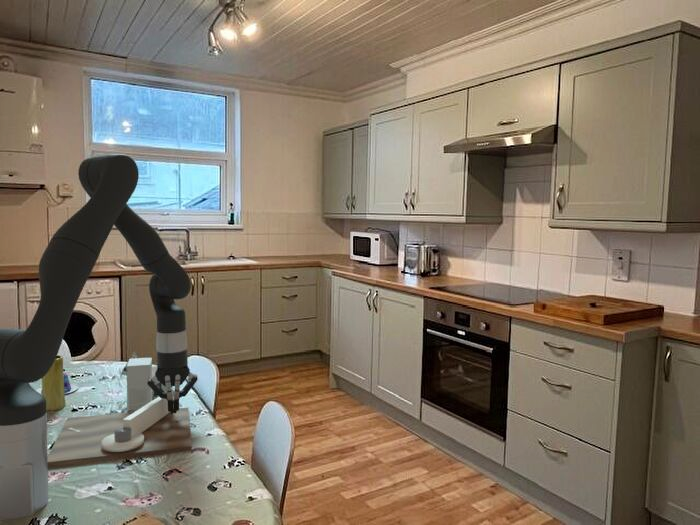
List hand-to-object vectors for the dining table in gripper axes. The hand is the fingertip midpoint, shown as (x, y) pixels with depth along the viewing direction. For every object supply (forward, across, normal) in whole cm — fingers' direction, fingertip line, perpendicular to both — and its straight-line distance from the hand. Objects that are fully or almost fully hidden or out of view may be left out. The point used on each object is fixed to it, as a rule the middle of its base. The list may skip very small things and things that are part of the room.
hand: (173, 412), depth 138 cm
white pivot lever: (+1, -11, -14) cm, 17 cm away
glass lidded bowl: (+4, -12, +53) cm, 54 cm away
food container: (+4, -6, +28) cm, 29 cm away
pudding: (+4, -35, +36) cm, 50 cm away
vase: (+3, -32, +21) cm, 39 cm away
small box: (+4, -9, +16) cm, 19 cm away
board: (+3, -11, -6) cm, 13 cm away
